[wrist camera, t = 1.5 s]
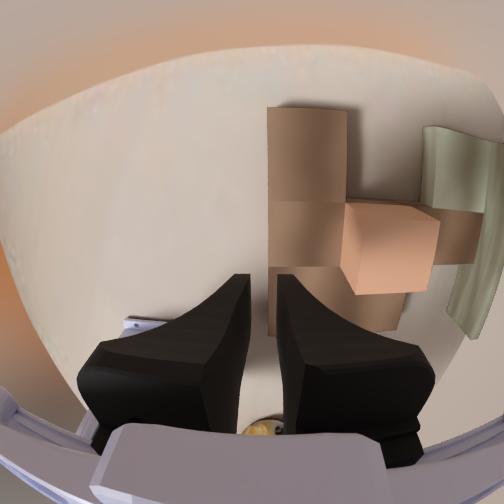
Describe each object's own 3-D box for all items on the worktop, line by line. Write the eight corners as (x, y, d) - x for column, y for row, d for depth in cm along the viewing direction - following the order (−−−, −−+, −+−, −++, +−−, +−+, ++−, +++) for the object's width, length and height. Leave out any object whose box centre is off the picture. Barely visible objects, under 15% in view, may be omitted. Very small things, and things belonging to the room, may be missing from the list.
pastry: (262, 453, 32) (261, 474, 28) (222, 438, 31) (218, 460, 27) (308, 427, 29) (310, 451, 25) (265, 410, 28) (264, 437, 24)
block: (339, 266, 19) (355, 294, 15) (345, 202, 17) (365, 217, 13) (401, 265, 18) (426, 291, 15) (410, 206, 17) (440, 221, 13)
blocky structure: (268, 321, 23) (267, 362, 18) (267, 111, 17) (267, 98, 12) (453, 310, 22) (477, 338, 17) (481, 142, 16) (519, 147, 11)
